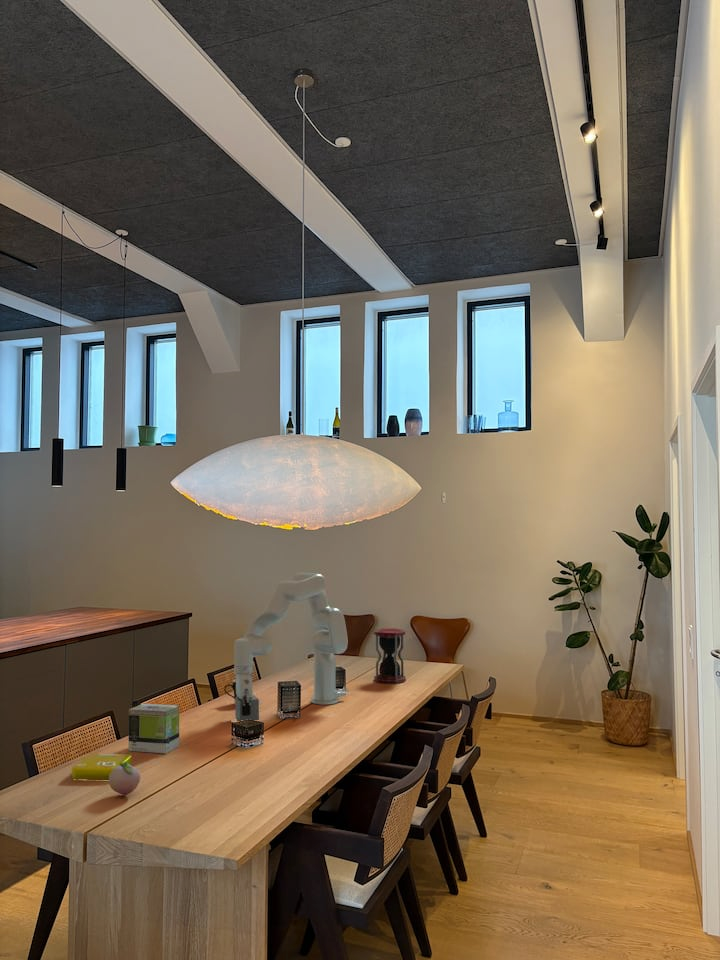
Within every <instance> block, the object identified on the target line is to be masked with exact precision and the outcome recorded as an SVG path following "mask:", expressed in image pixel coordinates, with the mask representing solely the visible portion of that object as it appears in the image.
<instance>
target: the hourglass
mask: <svg viewBox="0 0 720 960" xmlns="http://www.w3.org/2000/svg"><path fill="white" fill-rule="evenodd" d="M373 635H375V651H376V653H377V655H378V658H377V660H376V662H375V676H373V681H374V682H376V683H378V684H388V685H389V684H390V685H391V684H401V682H402V683H404V681H405V682H406V681H407V679H406V678H407V677H406V676H405V674H404V660H403V658H402V655H401V654H402V650H403V649H404V636H405V635H406V630H405V629H403V628H385V627H384V628H377V629H374V630H373ZM379 647H380V648H381V650H382V652H383V655H382V653H381V651H380V650H379ZM399 647H400V649H399ZM398 649H399V650H398ZM397 656H398V659H399V660H400V663H399V662H398V661H397ZM381 659H382V661H381ZM380 661H381V662H380Z"/></svg>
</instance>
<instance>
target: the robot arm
mask: <svg viewBox="0 0 720 960" xmlns="http://www.w3.org/2000/svg"><path fill="white" fill-rule="evenodd" d="M326 586H327V580H326V578H325V576H324V575H322V574H319V573H313V572H297V573H295V574H294V575H293V576H292V579H291V580H282V581H280V582H279V583H278V584H277V585H276V587H275V589H274V591H273V593H272V595H271V597H270V599H269V601H268V603H267V604H266V607H265V609H264V611H263V612H261V613H260V614H259V615H258V616H256V618H254V619H253V620H252V622H251V623H249V625H248V627H247V629H246V630H245V633H244V634H243V637H241V638H237V639H235V640H234V647H233V649H234V650H233V653H234V655H233V656H234V657H233V660H234V661H233V664H234V665H233V670H234V672H233V674H234V675H235V676H236V677H235V680H236V695H237V697H239V698H240V699H241V700H242V701H243V705H242V715H243V716H247V715H250V699H252V698H253V695H254V694H253V693H254V691H253V676H252V674H254V656H255V657H256V656H266V655H269V654H270V653H271V651H272V650H273V642H272V641H271V640H272V639H270V638H268V637H265V636H261V635H262V634H263V633H264V631H265V630H266V629H267V628H269V627H271V626H272V625H274V624H278V623H279V622H281V621H283V619H284V617H285V616H286V613H287V611H288V609H289V607H290V605H291V603H292V602H297V603H298V602H302V601H306V600H307V601H308V606H309V613H310V617H311V623H312V625H313V626H314V627H315V628H319V630H316V631H315V632H314V634H313V636H312V638H311V646H312V649H313V651H312V652H313V658H314V660H313V661H314V662H313V663H314V665H313V666H314V667H313V672H314V676H313V677H314V680H313V682H314V683H313V684H314V685H313V687H314V688H313V690H314V691H313V692H314V693H313V697H311V698H310V703H312V704H315V705H322V706H323V705H325V706H326V705H334V704H338V703H339V702H340V697H346V696H347V691H341V690H339V691H338V690H336V687H337V685H336V684H337V682H336V669H337V668H336V664H337V663H336V657H335V655H340V654H343V653H345V652H346V650H347V649H348V645H349V639H348V631H347V626H346V620H345V615H344V614H343V612H342V611H341V609H339V608H336V607H330V605H329V601H328V596H327V593H326V591H325V589H326V588H327V587H326ZM244 697H245V698H244ZM244 700H245V701H244Z"/></svg>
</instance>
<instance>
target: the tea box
mask: <svg viewBox="0 0 720 960" xmlns="http://www.w3.org/2000/svg"><path fill="white" fill-rule="evenodd" d="M179 746H180V705H179V704H160V703H157V704H156V703H141V704H139V705H137V706H135V707H132V708H130V709H128V751H130V752H141V753H151V754H152V753H154V754H168V753H170V752H172V751H173V750H175V749H177V748H178V747H179Z"/></svg>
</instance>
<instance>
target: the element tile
mask: <svg viewBox="0 0 720 960" xmlns="http://www.w3.org/2000/svg"><path fill="white" fill-rule="evenodd" d="M125 761H126V763H127V764H128V765H131V766H132V755H131V754H129V753H126V754H125V753H89V754H87V755H86V756H84V757H83V758H82V759H81V760H79V761H78V762H77V763H76V764H74V765H73V766H72V767H71V780H72V779H76V780H78V779H87V780H109V775H110V773H111V771H112V770H113V769H114V768H116V767H117V766H119V763H123V762H125Z"/></svg>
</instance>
